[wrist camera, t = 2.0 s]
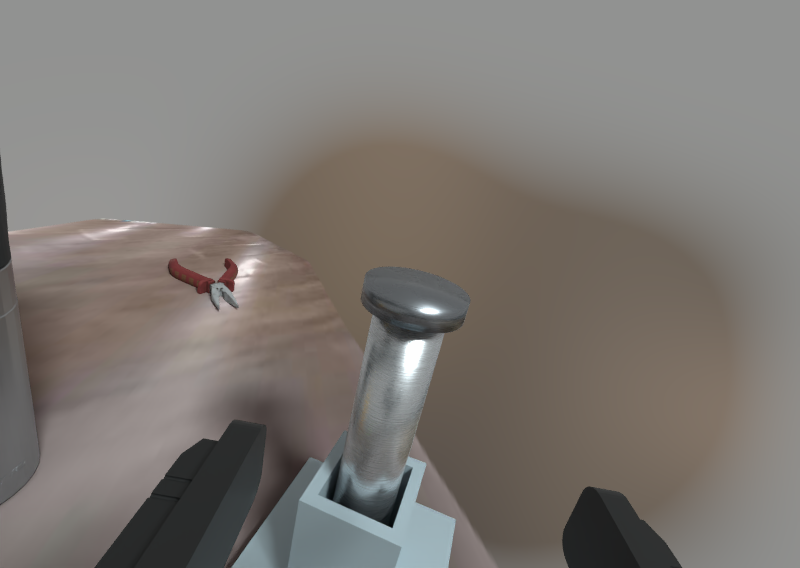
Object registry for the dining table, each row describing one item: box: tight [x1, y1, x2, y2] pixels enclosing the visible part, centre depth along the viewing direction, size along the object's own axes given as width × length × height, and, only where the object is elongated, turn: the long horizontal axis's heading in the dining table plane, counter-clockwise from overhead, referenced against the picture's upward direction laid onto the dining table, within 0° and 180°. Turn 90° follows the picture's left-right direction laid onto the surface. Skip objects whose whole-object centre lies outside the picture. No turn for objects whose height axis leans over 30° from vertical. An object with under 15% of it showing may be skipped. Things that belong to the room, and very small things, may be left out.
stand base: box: [231, 431, 456, 568], centre depth 26 cm, size 14×14×10 cm
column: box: [333, 267, 470, 526], centre depth 23 cm, size 6×6×21 cm
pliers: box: [168, 258, 239, 310], centre depth 66 cm, size 12×20×3 cm, turn 37°
